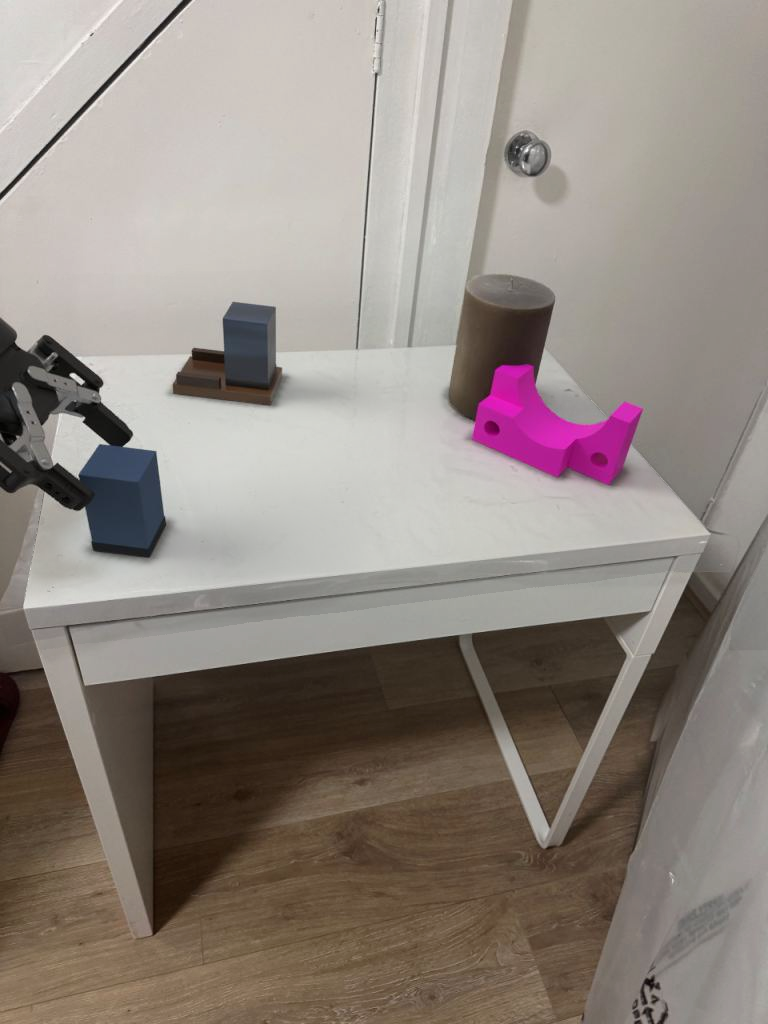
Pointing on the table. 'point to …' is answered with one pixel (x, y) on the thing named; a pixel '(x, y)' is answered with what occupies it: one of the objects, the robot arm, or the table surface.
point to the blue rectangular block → (124, 500)
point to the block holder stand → (236, 359)
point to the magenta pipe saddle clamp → (551, 429)
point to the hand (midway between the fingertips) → (107, 471)
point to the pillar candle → (497, 334)
